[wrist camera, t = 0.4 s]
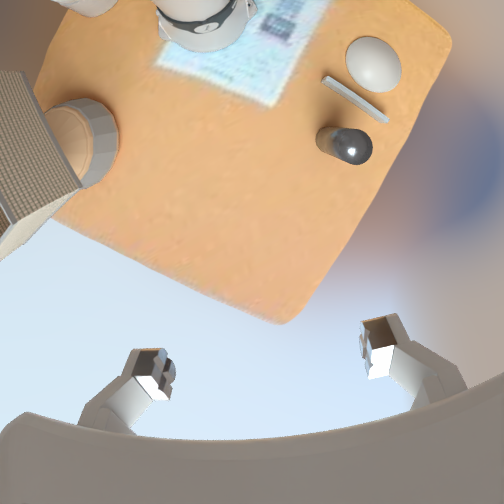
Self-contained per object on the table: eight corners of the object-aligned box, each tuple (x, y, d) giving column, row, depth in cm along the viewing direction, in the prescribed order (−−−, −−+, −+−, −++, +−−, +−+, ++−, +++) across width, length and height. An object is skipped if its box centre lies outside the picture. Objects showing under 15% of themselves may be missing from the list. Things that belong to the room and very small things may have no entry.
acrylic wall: (320, 82, 46) (325, 79, 43) (323, 78, 46) (327, 75, 43) (379, 122, 49) (387, 123, 46) (382, 118, 49) (389, 119, 46)
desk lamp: (143, 158, 52) (13, 220, 19) (80, 207, 56) (-37, 295, 22) (95, 75, 44) (-47, 60, 11) (38, 131, 48) (-92, 168, 14)
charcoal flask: (313, 129, 50) (335, 132, 37) (339, 124, 50) (369, 126, 36) (318, 155, 52) (342, 167, 39) (344, 150, 52) (375, 161, 38)
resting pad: (338, 39, 42) (339, 38, 42) (391, 37, 41) (392, 36, 40) (353, 95, 47) (355, 95, 46) (405, 90, 46) (407, 90, 45)
